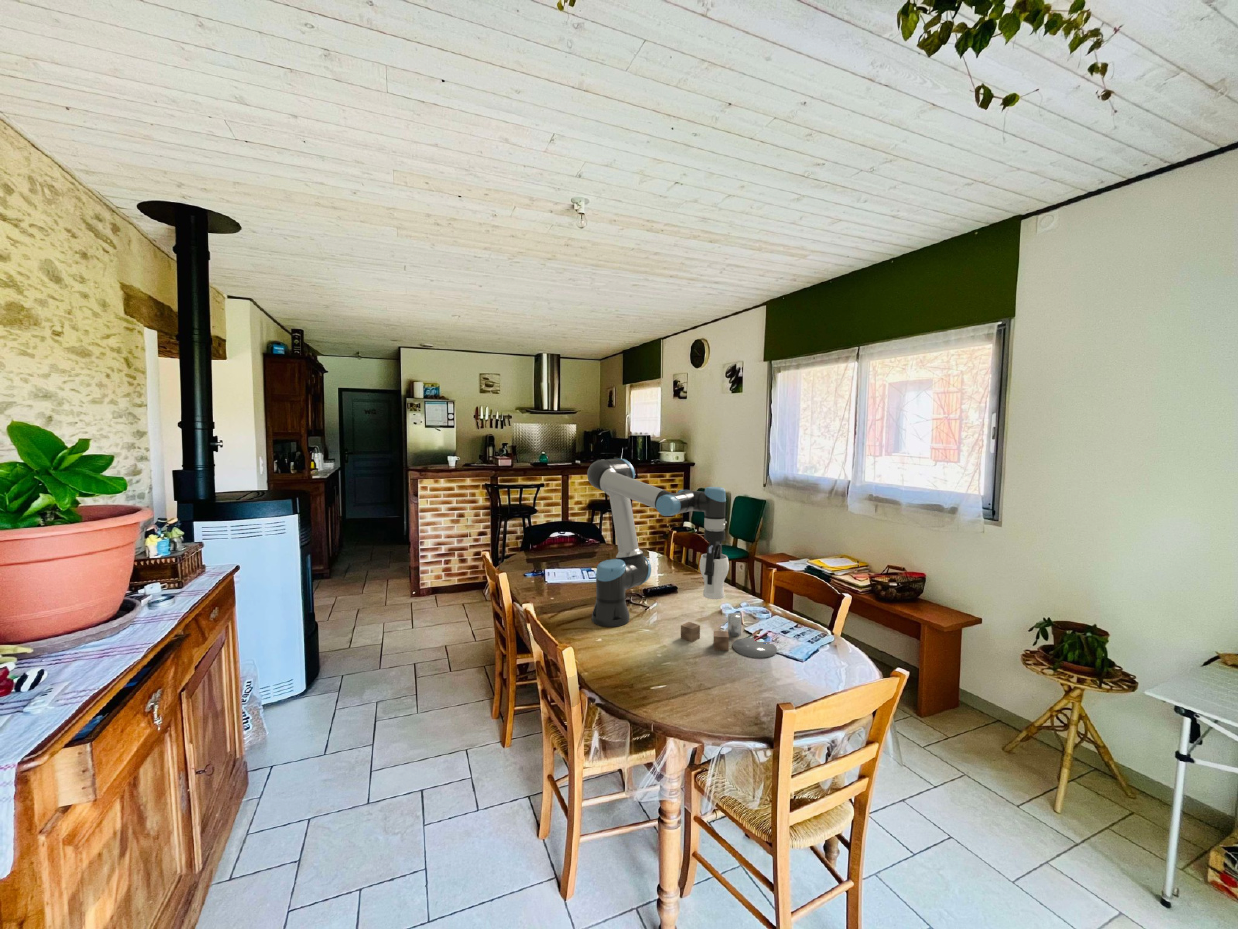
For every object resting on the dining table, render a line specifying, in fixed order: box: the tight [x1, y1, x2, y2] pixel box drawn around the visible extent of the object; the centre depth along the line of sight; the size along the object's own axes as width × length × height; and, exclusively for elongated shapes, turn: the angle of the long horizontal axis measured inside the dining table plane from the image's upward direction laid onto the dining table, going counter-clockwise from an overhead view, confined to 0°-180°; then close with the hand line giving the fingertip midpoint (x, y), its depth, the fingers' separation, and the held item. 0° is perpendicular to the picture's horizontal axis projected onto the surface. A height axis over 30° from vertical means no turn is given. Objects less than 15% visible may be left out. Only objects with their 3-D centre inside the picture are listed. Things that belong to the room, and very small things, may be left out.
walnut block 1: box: [680, 621, 701, 643], centre depth 188 cm, size 5×5×5 cm
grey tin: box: [727, 612, 742, 637], centre depth 192 cm, size 5×5×7 cm
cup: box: [699, 552, 730, 600], centre depth 188 cm, size 11×11×15 cm
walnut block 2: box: [713, 630, 730, 652], centre depth 180 cm, size 5×5×5 cm
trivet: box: [732, 637, 778, 659], centre depth 179 cm, size 15×15×1 cm
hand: (713, 588), depth 189 cm, fingers closed on cup, 10 cm apart
